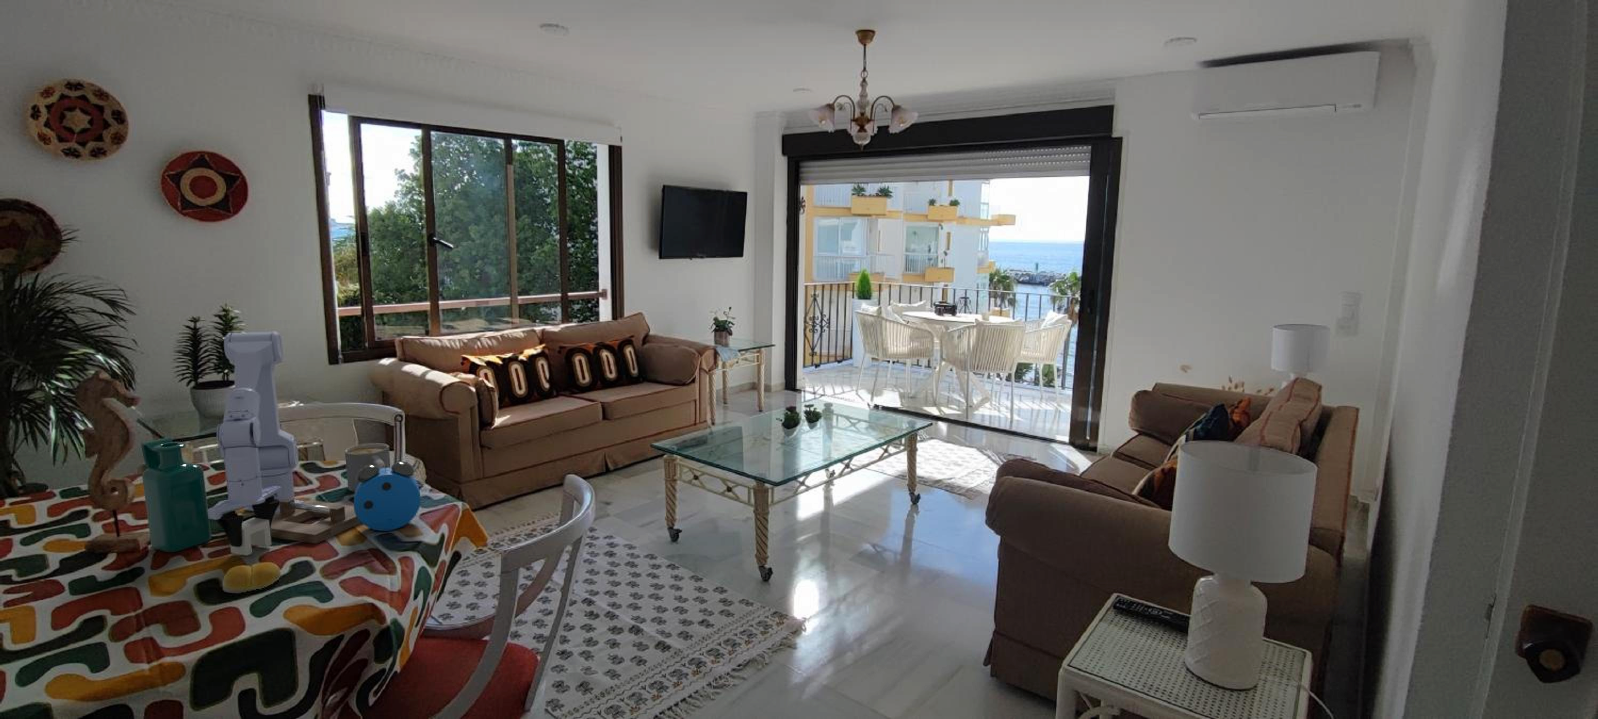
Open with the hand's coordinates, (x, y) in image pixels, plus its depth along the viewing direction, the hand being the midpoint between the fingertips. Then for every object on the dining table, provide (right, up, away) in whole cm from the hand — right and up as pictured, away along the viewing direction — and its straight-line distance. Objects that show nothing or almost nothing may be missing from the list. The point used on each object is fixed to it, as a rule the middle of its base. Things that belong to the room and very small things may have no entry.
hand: (250, 539), depth 158 cm
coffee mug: (+3, +4, +40) cm, 40 cm away
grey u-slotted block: (0, -2, 0) cm, 2 cm away
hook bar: (+4, +3, +14) cm, 15 cm away
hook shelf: (+4, 0, +15) cm, 15 cm away
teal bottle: (-18, -2, +4) cm, 18 cm away
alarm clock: (+21, -1, +14) cm, 26 cm away
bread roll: (+10, -6, -13) cm, 17 cm away
